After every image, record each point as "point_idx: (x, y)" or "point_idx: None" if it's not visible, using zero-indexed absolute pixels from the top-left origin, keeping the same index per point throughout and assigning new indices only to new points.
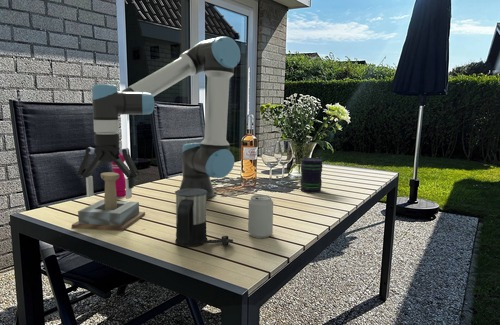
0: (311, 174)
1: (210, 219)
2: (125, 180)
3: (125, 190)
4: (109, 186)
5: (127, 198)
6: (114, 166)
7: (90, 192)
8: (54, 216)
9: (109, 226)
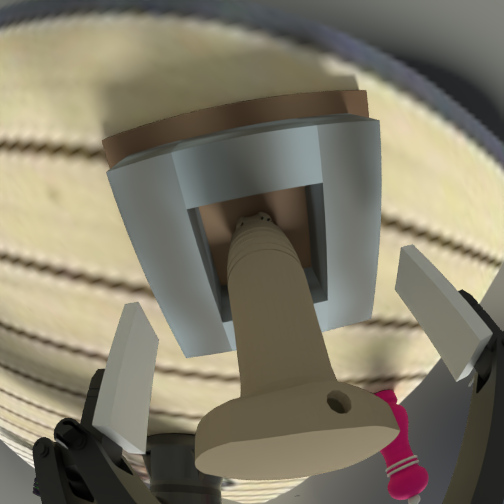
0: None
1: (5, 337)
2: (109, 416)
3: None
4: (263, 345)
5: (129, 305)
6: (409, 461)
7: (411, 278)
8: (473, 199)
9: (170, 124)
